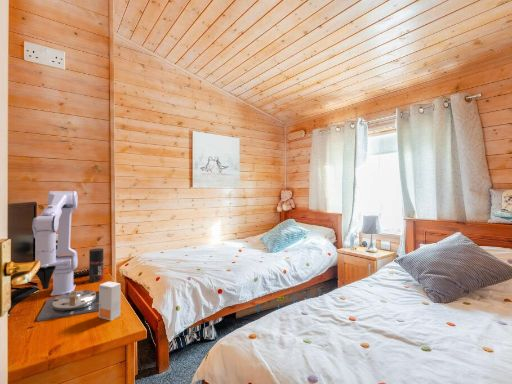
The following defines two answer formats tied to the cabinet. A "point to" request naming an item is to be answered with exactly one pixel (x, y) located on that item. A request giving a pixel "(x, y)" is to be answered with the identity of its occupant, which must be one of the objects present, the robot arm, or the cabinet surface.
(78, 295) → the flat grey disc
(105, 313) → the skincare box
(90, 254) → the deodorant
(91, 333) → the cabinet surface
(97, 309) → the base plate
